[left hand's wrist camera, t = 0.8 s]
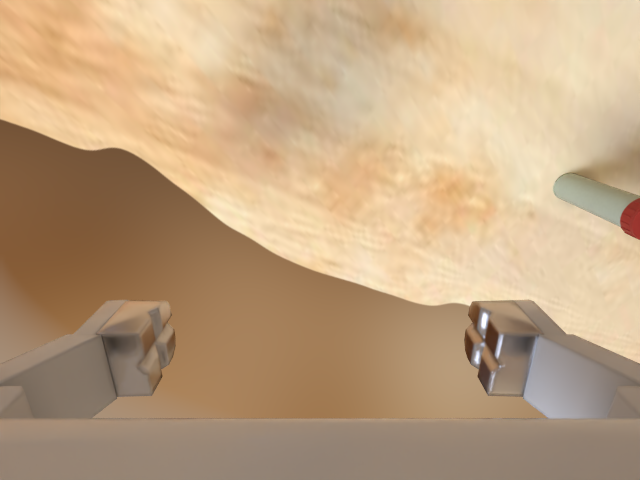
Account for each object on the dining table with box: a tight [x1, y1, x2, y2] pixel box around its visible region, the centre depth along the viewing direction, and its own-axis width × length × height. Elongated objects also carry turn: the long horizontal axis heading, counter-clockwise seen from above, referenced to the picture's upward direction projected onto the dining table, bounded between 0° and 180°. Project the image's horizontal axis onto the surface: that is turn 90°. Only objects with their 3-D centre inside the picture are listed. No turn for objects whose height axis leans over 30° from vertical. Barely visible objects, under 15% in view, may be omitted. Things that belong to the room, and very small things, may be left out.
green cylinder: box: [554, 173, 640, 227], centre depth 51 cm, size 4×4×16 cm
